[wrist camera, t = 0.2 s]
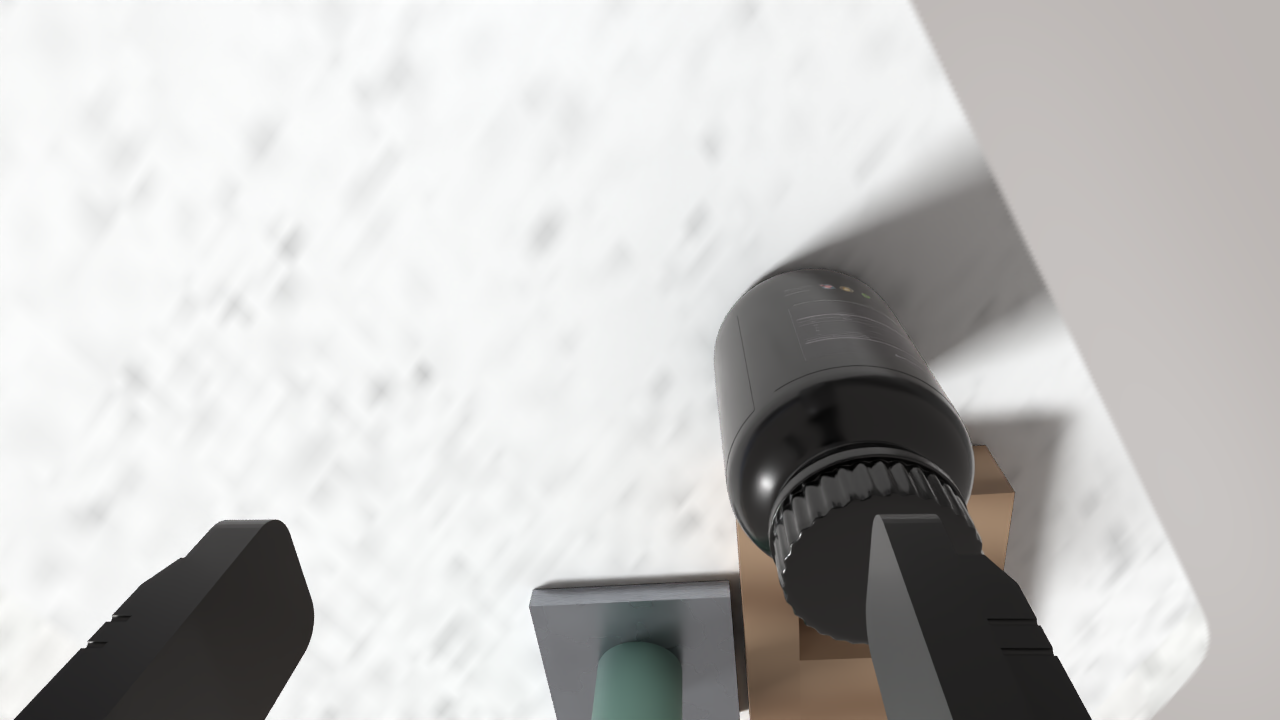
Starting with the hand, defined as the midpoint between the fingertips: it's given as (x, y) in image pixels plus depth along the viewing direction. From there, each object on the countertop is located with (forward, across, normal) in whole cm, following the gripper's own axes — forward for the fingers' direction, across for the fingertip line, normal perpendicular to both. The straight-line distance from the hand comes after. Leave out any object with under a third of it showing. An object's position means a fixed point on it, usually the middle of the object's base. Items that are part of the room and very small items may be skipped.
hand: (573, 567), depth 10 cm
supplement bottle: (+18, -6, +5) cm, 20 cm away
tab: (+19, +2, +22) cm, 29 cm away
